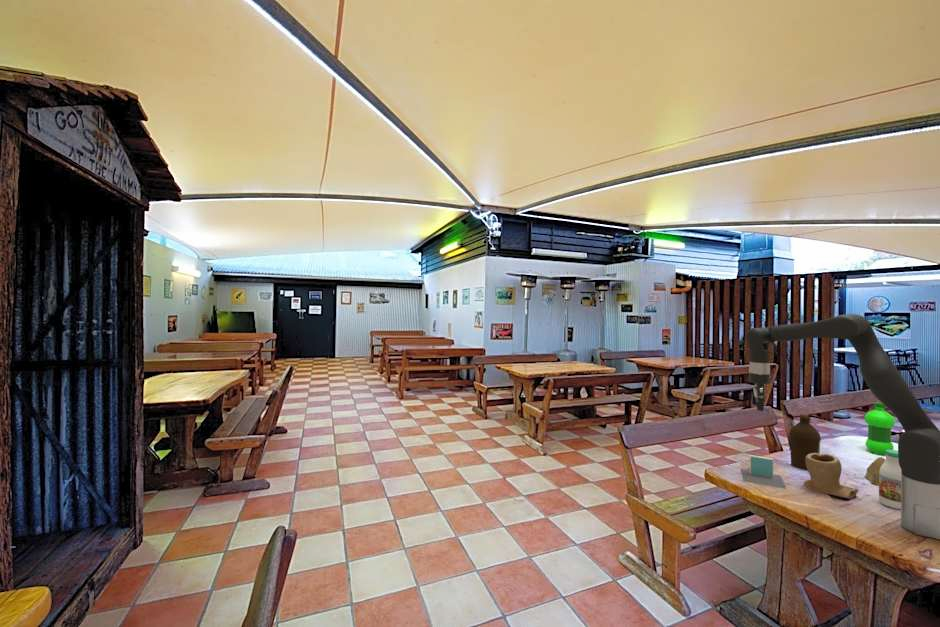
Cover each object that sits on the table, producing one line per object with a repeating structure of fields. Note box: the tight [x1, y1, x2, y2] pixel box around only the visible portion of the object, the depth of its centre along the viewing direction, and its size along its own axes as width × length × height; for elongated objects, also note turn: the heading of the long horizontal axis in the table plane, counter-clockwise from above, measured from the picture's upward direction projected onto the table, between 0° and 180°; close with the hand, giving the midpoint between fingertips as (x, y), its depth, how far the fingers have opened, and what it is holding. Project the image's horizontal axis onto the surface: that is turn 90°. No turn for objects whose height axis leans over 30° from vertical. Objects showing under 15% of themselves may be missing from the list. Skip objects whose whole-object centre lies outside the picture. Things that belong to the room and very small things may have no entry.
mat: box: [740, 468, 787, 490], centre depth 161 cm, size 14×14×1 cm
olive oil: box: [788, 413, 822, 472], centre depth 172 cm, size 11×11×25 cm
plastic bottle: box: [864, 401, 896, 456], centre depth 190 cm, size 10×10×25 cm
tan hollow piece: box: [803, 453, 859, 500], centre depth 150 cm, size 15×12×15 cm
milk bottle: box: [878, 449, 901, 510], centre depth 141 cm, size 8×8×20 cm
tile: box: [749, 454, 774, 478], centre depth 164 cm, size 2×8×8 cm, turn 59°
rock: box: [864, 456, 886, 486], centre depth 161 cm, size 11×9×10 cm
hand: (759, 408), depth 171 cm, fingers open, 8 cm apart
